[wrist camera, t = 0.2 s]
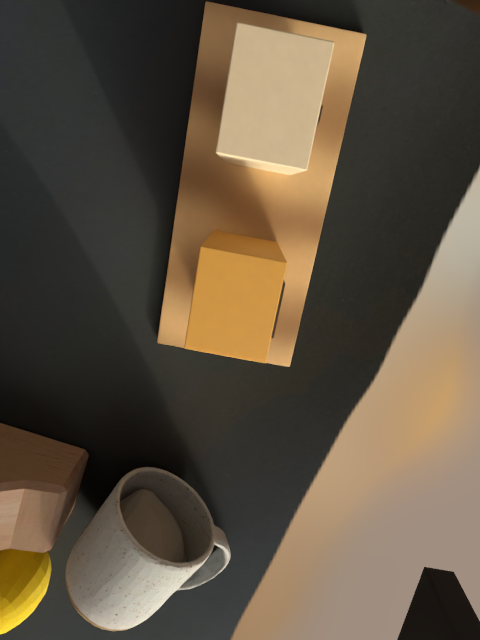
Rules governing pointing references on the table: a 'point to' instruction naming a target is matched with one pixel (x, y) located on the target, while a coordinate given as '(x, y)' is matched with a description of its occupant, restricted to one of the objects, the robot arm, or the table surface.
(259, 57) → the tile
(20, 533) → the decorative block
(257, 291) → the orange block
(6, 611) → the fruit
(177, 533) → the ceramic mug
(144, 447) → the table surface
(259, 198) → the word board
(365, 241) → the table surface
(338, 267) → the table surface
